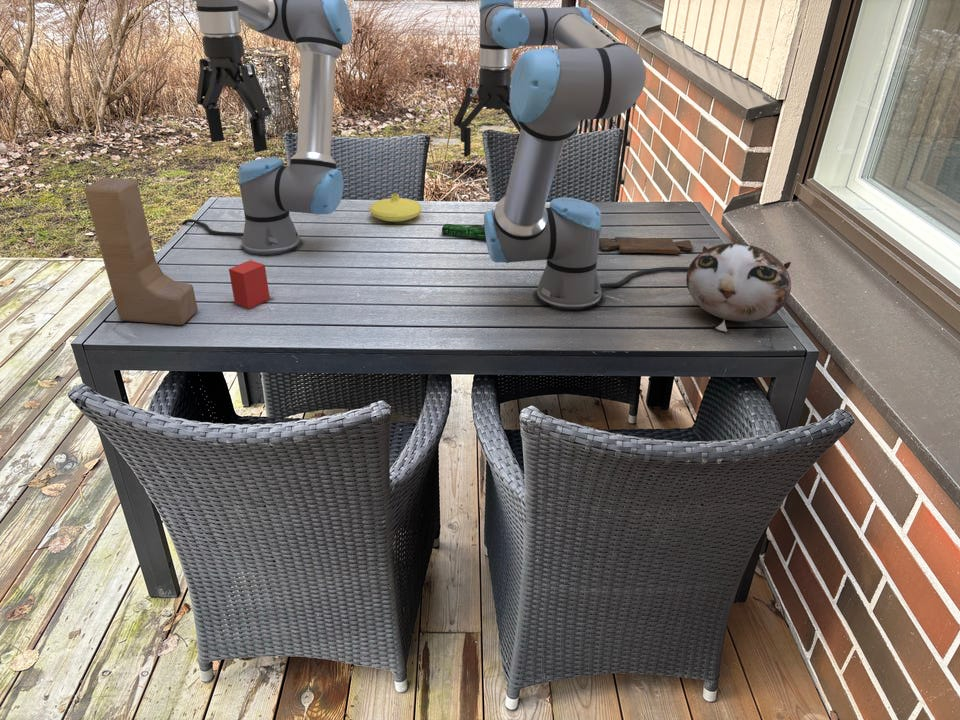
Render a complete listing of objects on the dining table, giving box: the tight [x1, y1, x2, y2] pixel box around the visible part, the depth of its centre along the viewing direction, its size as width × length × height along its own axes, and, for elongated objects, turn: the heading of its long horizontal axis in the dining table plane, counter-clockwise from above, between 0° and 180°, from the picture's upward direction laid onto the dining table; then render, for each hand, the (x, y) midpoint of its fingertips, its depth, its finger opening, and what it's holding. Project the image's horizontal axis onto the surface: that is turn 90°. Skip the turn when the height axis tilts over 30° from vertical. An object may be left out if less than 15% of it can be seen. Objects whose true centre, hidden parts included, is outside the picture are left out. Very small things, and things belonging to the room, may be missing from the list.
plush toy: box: [685, 242, 792, 332], centre depth 158 cm, size 22×18×20 cm
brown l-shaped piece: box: [83, 177, 198, 326], centre depth 152 cm, size 8×15×30 cm, turn 82°
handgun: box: [441, 223, 486, 242], centre depth 207 cm, size 16×3×15 cm
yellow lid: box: [369, 193, 422, 223], centre depth 215 cm, size 16×16×7 cm
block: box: [228, 259, 271, 310], centre depth 165 cm, size 5×6×9 cm
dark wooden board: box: [599, 236, 693, 255], centre depth 198 cm, size 26×2×10 cm
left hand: (238, 145), depth 149 cm, fingers open, 13 cm apart
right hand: (492, 158), depth 178 cm, fingers open, 13 cm apart
